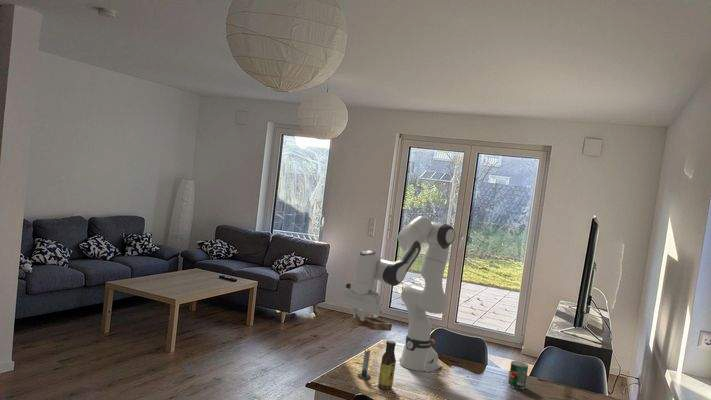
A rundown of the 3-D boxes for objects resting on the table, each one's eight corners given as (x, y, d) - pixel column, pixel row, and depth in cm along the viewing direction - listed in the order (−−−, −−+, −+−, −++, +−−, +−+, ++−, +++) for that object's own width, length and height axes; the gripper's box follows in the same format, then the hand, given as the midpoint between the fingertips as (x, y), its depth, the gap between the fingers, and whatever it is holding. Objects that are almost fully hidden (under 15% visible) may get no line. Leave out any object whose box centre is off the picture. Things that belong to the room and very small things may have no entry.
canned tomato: (504, 384, 269) (507, 361, 269) (514, 382, 274) (517, 360, 274) (518, 390, 263) (521, 367, 263) (528, 388, 268) (531, 365, 268)
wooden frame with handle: (371, 323, 261) (373, 314, 261) (390, 330, 252) (392, 322, 252) (345, 321, 249) (348, 312, 250) (365, 329, 240) (367, 320, 241)
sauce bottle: (391, 391, 239) (397, 345, 239) (376, 388, 241) (383, 342, 240) (393, 386, 246) (399, 341, 245) (378, 383, 247) (385, 338, 246)
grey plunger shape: (364, 373, 257) (367, 347, 256) (373, 378, 252) (377, 351, 252) (354, 375, 253) (358, 349, 252) (363, 380, 248) (367, 353, 248)
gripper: (385, 293, 240) (380, 325, 241) (352, 282, 255) (348, 312, 255) (374, 293, 236) (370, 326, 236) (342, 282, 250) (338, 313, 251)
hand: (358, 319), depth 246 cm, fingers closed on wooden frame with handle, 2 cm apart
